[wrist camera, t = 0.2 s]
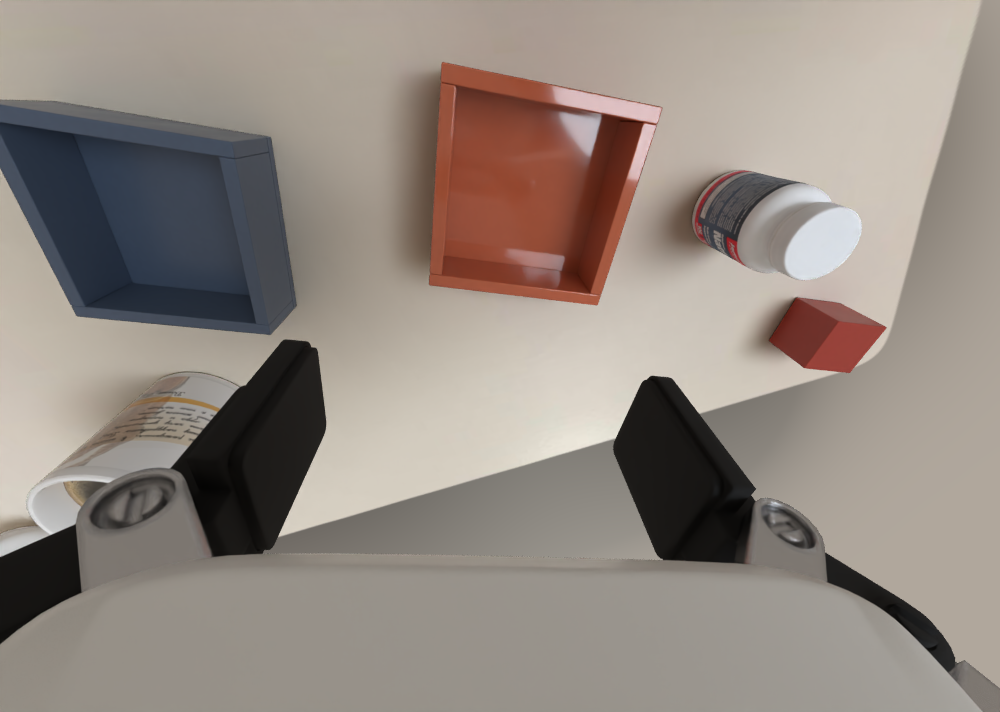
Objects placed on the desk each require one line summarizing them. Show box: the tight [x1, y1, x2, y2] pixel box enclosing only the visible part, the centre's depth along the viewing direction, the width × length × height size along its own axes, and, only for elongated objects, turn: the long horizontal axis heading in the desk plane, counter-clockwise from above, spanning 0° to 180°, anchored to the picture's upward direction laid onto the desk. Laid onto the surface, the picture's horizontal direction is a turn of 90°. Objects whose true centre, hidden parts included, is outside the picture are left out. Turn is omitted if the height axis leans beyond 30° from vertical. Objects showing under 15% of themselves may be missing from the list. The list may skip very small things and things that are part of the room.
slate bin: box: [0, 100, 297, 335], centre depth 23 cm, size 12×12×5 cm
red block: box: [769, 298, 887, 373], centre depth 31 cm, size 4×4×4 cm
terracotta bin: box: [429, 62, 662, 305], centre depth 24 cm, size 12×12×5 cm
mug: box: [26, 372, 239, 535], centre depth 30 cm, size 10×12×11 cm
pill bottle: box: [692, 170, 862, 280], centre depth 23 cm, size 5×5×9 cm
